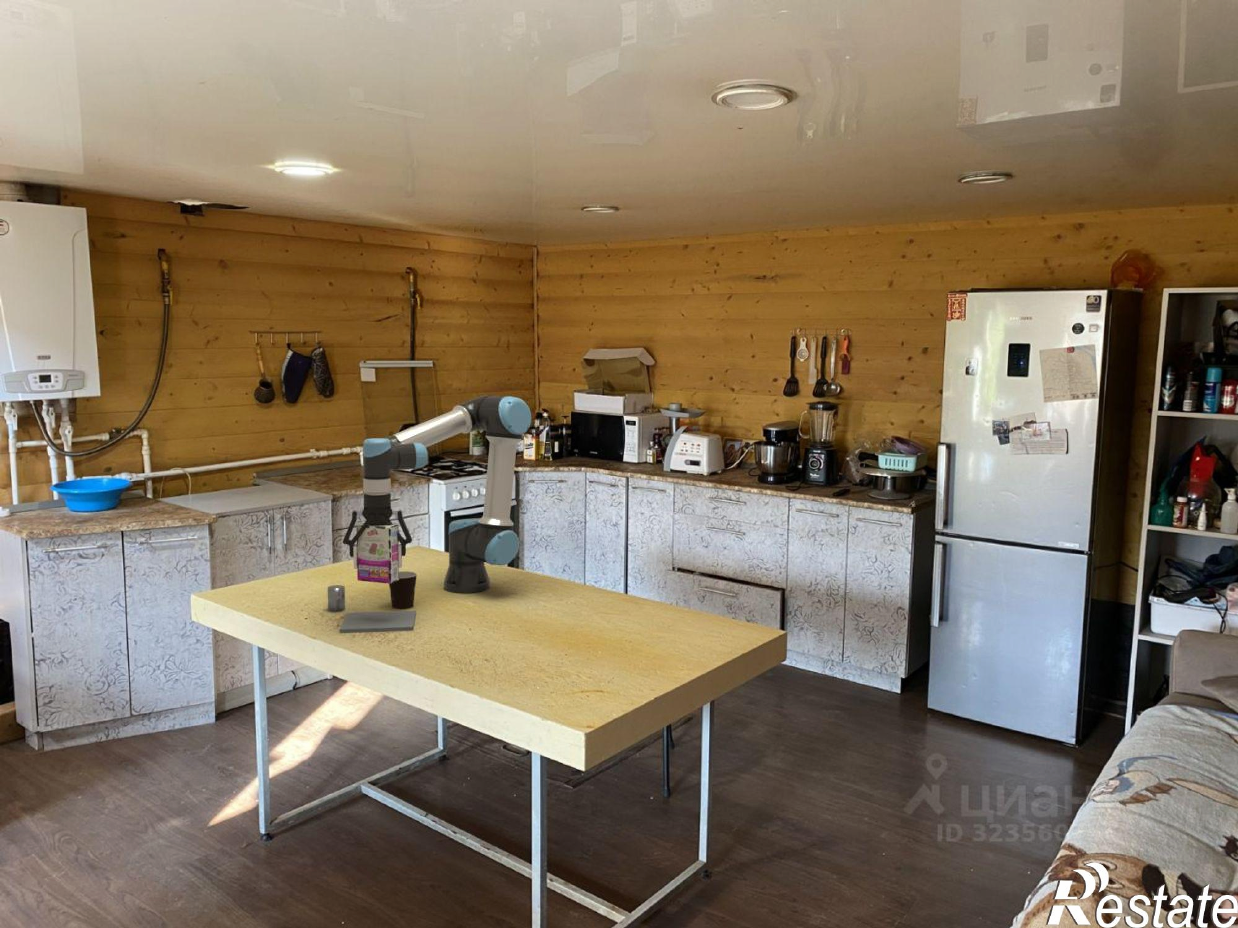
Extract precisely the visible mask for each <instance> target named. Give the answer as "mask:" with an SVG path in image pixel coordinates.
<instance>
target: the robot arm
mask: <svg viewBox="0 0 1238 928" xmlns="http://www.w3.org/2000/svg"><path fill="white" fill-rule="evenodd" d="M531 424H532V413H531V410H530V407H529V406H528V405H527V403H526V402H525V400H523V399H521V398H519V397H515V396H512V395H511V396H505V395H492V394H487V395H481V396H477V397H475V398H472V399H469V400H467V401H464V402H462V403H460V404H457V405H455V406H453V408H452V410H451V411H448V412H446V413H443V414H441V415H438V416H436V417H434V418H431V419H430V420H427V421H424V422H421V423H419V424H415V425H414V426H411V427H408V428H407V429H404V430H402V431H400V432H397V433H394V434H393V435H389V436H386V437H383V438H382V437H381V438H379V437H375V438H367V439H365V440H364V441H363V445H362V469H363V470H362V471H363V472H362V473H363V474H362V475H363V480H362V481H363V482H362V483H363V484H362V485H363V487H362V488H363V492H364V494H363V510H357V509H353V511H352V513H351V521H350V522H349V524H348V528H347V529H346V533H345V535H344V537H343V540H342V544H344V545H347V546H348V547H349V556H350V558H353V570H357V544H356V543H357V540H358V538H359V537H360V536H361V534H362V533H363V532H364V530H365V529H366V528H367V526H368V525H369V524H370V525H372V526H374V525H386V526H390V525H394V523H393V522H392V521H391V518H392V516H394V517H395V518H396V519H397V520H398V521H397V522H398V523H399V524H398V525H399V526H400V528H401V530H402V532H403V535H404V536H402V534H401V533H400V531H399V530H398V532H399V533H398V532H397V540H398V541H399V546H398V549H399V569H402V568H403V557H405V556H406V555H407V551H406V550H407V545H408V544H411V543H412V541H413V538H412V535H411V533H410V530H409V528H408V526H407V524H406V522H405V519H404V516H403V514H404V513H403V510H402V509H398V510H393V509H392V494H391V493H390V492H391V491H392V484H391V483H392V481H391V477H392V476H391V473H392V472H394V471H402V470H403V471H404V470H417V469H421V468H424V467H425V466H426V464H427V463H428V460H429V457H428V456H429V455H428V454H429V453H428V450H427V448H428V447H430V446H433V445H435V444H437V443H439V442H442V441H445V440H447V439H449V438H452V437H454V436H456V435H459V434H461V433H462V434H465V435H466V434H469V433H471V432H474V431H475V432H476V431H485V438H486V439H487V440H488V442H489V451H488V458H487V459H488V460H487V471H486V480H485V482H486V483H485V492H484V502H483V503H484V504H483V512H482V514H483V515H482V516H481V517H478V518H477V517H476V518H475V517H474V518H465V519H457V520H453V521H451V522H450V523H449V526H448V533H447V534H448V558H449V559H448V561H449V562H448V563H449V564H448V569H447V570H446V574H445V577H444V580H443V589H444V590H445V591H447V592H452V593H460V594H465V593H466V594H468V593H470V594H471V593H479V592H483V591H486V590H489V588H490V586H491V585H490V582H491V581H490V577H489V574H488V572H487V567H486V566H485V563H486V564H488V565H491V566H494V565H495V566H506V565H508V564H510V563H511V562H512V560H514V559H515V558H516V556H517V555H518V553H519V550H520V539H519V538H520V537H518V535H517V533H515V532H514V528H515V527H514V526H515V525H514V524H515V523H514V522H513V521H512V519H511V511H512V510H511V509H512V498H513V488H514V475H515V467H516V456H517V455H516V454H517V445H518V444H520V443H521V441H522V440H523V434H525V433H526V432H527V431H528V429H529V428H530V427H531ZM361 516H362V517H363V518H364V519H365V521H364V522H363V523H364V524H363V526H362V527H361V528H360V530H359V531H358V532H357V531H356V534H355V535H354V536H353V538H352V539H350V537H351V535H352V532H353V530H354V528H355V525H356V523H357V520H358V519H360V518H361Z"/></svg>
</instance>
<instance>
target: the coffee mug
mask: <svg viewBox="0 0 1238 928" xmlns="http://www.w3.org/2000/svg"><path fill="white" fill-rule="evenodd" d="M417 577H418V576H417V572H414V571H410V570H409V571H404V570H403V571H400V570H399V580H398V581H396V582H394V583H391V584H388V585H389V593H390V601H391V602H390V603H391V607H392V609H395V610H408V609H411V608H413V607H414V602H415V593H416V584H417Z"/></svg>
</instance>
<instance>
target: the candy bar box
mask: <svg viewBox="0 0 1238 928" xmlns="http://www.w3.org/2000/svg"><path fill="white" fill-rule="evenodd" d="M364 523H365V522H363V523H360V524H357V525H356V533H357V532H358V531H359V530H360V528H361V527H362V526H363V524H364ZM398 531H399V524H393V525H390V526H386V525H374V526H372V525H370V524H369V525H368V526H367V528H366V529H365V530H364V532H363V533H362V534H361V536H360V537H359V538H358V540H357V541H356V545H357V569H356V570H357V572H356V573H357V574H356V575H357V581H359V582H369V583H379V584H388V585H389V584H391V583H394V582H396V581H398V580H399V572H400V568H399V549H398V546H399V544H400V542H399V541H398V540H397V532H398ZM398 533H400V531H399V532H398Z"/></svg>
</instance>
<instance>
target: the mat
mask: <svg viewBox="0 0 1238 928" xmlns="http://www.w3.org/2000/svg"><path fill="white" fill-rule="evenodd" d="M416 616H417V610H398V611H397V610H396V611H394V610H393V611H390V610H389V611H364V612H362V611H361V612H347V613H346V614H345V617H344V618H343V621H342V623H341V625H340V628H339V634H343V633H348V634H349V633H371V632H372V633H373V632H377V633H378V632H402V631H403V632H406V631H407V632H408V631H414V628H415V627H414V626H415V623H416V622H415V621H416Z"/></svg>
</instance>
